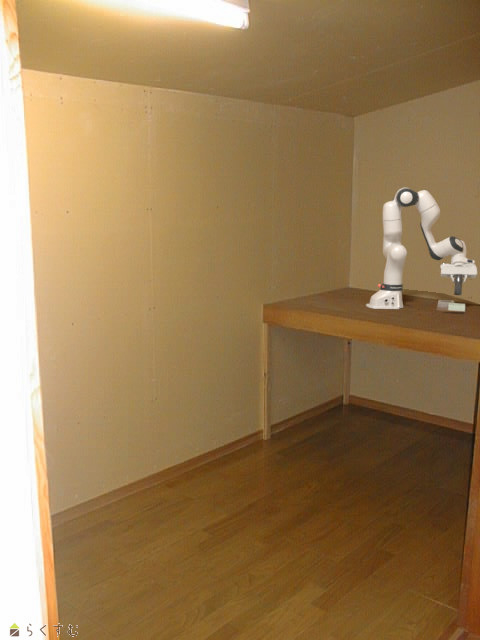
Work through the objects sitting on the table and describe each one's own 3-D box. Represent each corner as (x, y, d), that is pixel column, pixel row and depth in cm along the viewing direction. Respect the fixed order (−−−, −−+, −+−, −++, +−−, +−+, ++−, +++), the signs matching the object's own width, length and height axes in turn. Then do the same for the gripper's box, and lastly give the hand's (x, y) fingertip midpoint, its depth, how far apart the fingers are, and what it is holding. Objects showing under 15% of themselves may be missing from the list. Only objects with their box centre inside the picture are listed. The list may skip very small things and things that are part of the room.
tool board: (465, 314, 340) (465, 311, 340) (436, 312, 345) (436, 309, 345) (464, 308, 360) (464, 305, 360) (437, 306, 366) (437, 304, 365)
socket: (453, 307, 352) (454, 302, 352) (437, 306, 355) (438, 302, 355) (453, 305, 361) (454, 300, 360) (438, 304, 364) (438, 299, 363)
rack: (464, 311, 341) (465, 306, 341) (448, 310, 344) (448, 305, 344) (464, 308, 350) (464, 303, 349) (448, 307, 352) (448, 302, 352)
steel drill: (456, 295, 343) (457, 274, 341) (452, 294, 347) (454, 273, 345) (462, 295, 344) (464, 274, 341) (459, 294, 348) (460, 273, 345)
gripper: (440, 260, 351) (440, 278, 344) (477, 260, 345) (477, 279, 338) (439, 266, 356) (439, 284, 349) (476, 267, 350) (476, 286, 343)
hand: (458, 282), depth 343 cm, fingers closed on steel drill, 4 cm apart
